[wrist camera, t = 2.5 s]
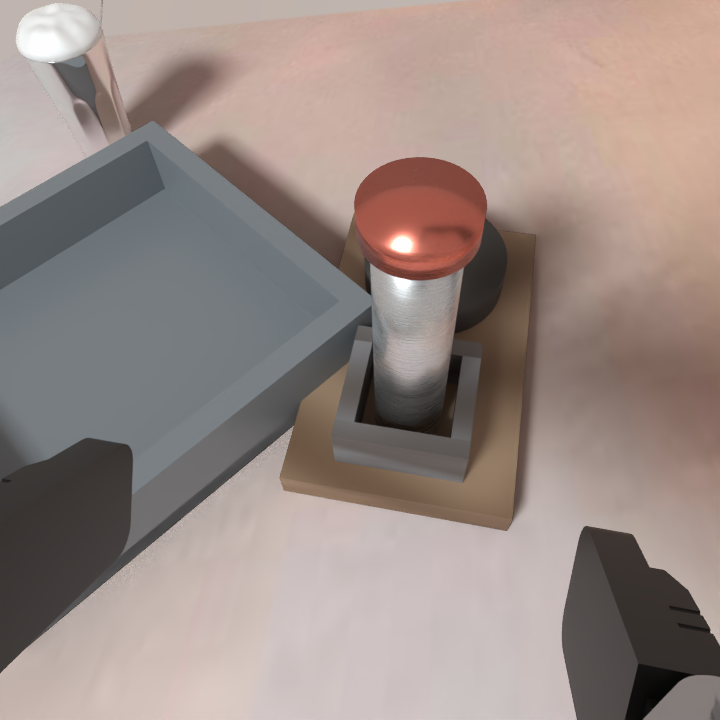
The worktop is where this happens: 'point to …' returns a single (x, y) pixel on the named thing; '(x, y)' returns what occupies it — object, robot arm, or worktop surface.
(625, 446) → the worktop surface
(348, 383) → the wooden stand
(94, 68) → the milkshake
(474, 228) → the pin
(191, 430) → the tray
